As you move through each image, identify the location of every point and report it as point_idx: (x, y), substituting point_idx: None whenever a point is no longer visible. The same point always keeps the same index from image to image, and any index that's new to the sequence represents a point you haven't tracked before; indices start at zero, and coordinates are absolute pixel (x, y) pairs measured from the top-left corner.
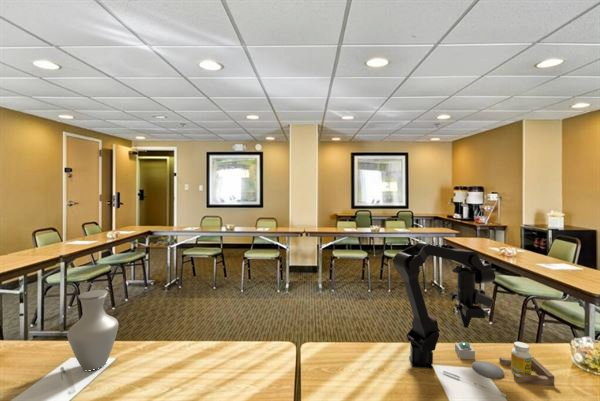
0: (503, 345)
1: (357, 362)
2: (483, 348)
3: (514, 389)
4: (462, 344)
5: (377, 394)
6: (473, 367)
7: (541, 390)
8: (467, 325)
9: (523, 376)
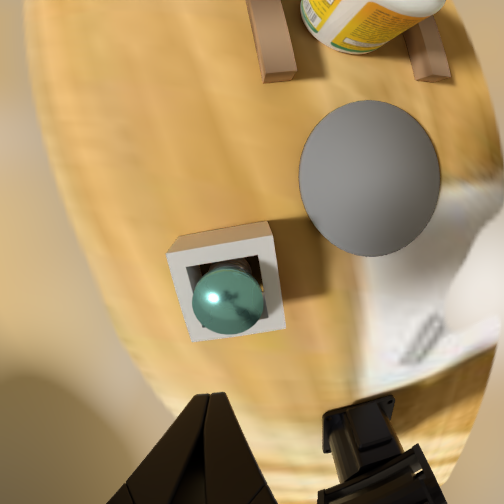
0: (42, 48)
1: None
2: (97, 145)
3: (475, 118)
4: (246, 322)
5: (465, 440)
6: (382, 253)
7: (443, 18)
8: (236, 419)
9: (440, 45)
